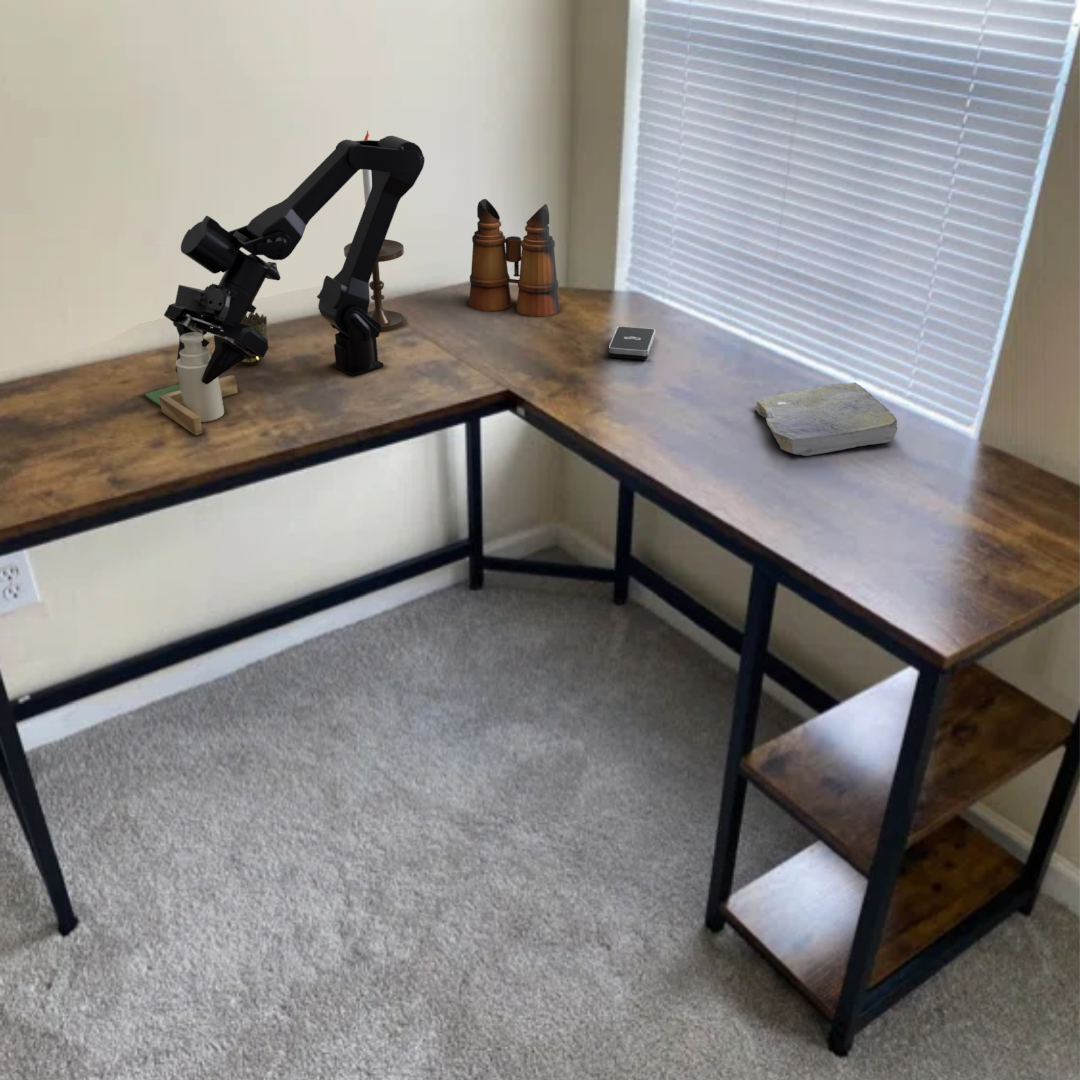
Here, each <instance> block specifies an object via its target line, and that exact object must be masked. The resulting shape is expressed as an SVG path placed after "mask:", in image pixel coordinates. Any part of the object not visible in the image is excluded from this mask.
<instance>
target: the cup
mask: <svg viewBox="0 0 1080 1080" xmlns="http://www.w3.org/2000/svg"><path fill="white" fill-rule="evenodd" d="M242 324H243V325H246V326H249V327H250V328H252V329H253V330H255V331H256V332H257V333H259V334H260V335H261V336H263V337H264V338H266V339H267V340H268V318H267V315H264V314H263V313H261V315H259V314H258V312H254V313H251V312H249V314H248V315H246V316H245V318H244V320H243V322H242ZM248 354H249V355H250V356H251V357H250V358H249V359H247V358H246V359H244V360H242V361H241V362H240V364H242V365H244V366H255V365H258V364H259V363H260V362H261V359H262V358H261V357H258V356H255V355H252V354H251V353H250V351H249V352H248Z"/></svg>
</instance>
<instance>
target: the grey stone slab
mask: <svg viewBox="0 0 1080 1080" xmlns="http://www.w3.org/2000/svg"><path fill="white" fill-rule="evenodd" d="M755 402H756V406H754V410H755V411H756V412H757V414H758V415H759V416H761V417H763V418H764V419H765V420H766V424H767V426H768V427H769V429H770V431H771V433H772V435H773V437H774V438H775V440H776V442H777V444H778V445H779V448H780V450H783V451H785V452H788V453H789V454H794V455H796V456H798V455H799V456H803V457H810V456H815V455H821V454H826V453H832V452H837V451H843V450H847V449H853V448H854V449H855V448H856V447H864V446H869V445H871V446H872V445H877V444H885V443H887V444H888V443H890V442H893V440H894V438H895V436H896V434H897V431H898V420H897V418H896V417H895V415H894V414H893V413H892V412H891V410H889V408H887V407H886V406H885V405H884V404H883V403H881V401H879V400H878V399H877V398H876V397H875V396H874V395H872V393H871V392H869V391H868V390H867V389H866V388H864V387H863V386H861V385H860V384H858V383H856V382H849V383H834V384H833V383H832V384H827V385H823V386H820V387H814V388H810V389H804V390H796V391H789V392H785V393H780V394H776V395H771V396H768V397H764V398H762V399H758V400H756V401H755Z"/></svg>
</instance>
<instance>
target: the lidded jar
mask: <svg viewBox="0 0 1080 1080" xmlns="http://www.w3.org/2000/svg"><path fill="white" fill-rule="evenodd" d="M203 339H205V337H204V336H203V334H202V333H198V332H190V333H186V334H183V335H181V336H180V340H181V342H182V343H184V347H185V348H184V349H182V350H181V351H180V352H179V354H180V359H178V360H177V359H176V361H175V369H176V368H177V372H176V373H177V379H178V384H180V390H181V395H182V401H183V406H184V407H186V408H187V409H189V410H190V411H192V412H193V413H195V414H196V415H198V416H199V417H200V421H201V423H206V422H211V421H216V420H218V419H219V418H222V417H223V416H224V414H225V406H224V400H223V397H222V394H221V387H220V381H219V378H220V376H218V377H217V378H216V379H214V380H213V381H211V382H210V383H209V384H205V383H203V382H202V377H203V374H204V372H205V369H206V367H207V365H208V363H209V361H210V359H211V356H212V354H210V349H209V348H208V347H207V346H206V347H204V346H202V342H201V341H202V340H203Z"/></svg>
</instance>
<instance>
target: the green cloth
mask: <svg viewBox="0 0 1080 1080" xmlns="http://www.w3.org/2000/svg"><path fill="white" fill-rule="evenodd" d="M179 390H180V384H179V383H178V384H174V385H171V386H168V387H164V388H161V389H157V390H154V391H150V392H147V393H144V397H146V398H147V399H148V400H149V401H151V402H153V403H154V404H156V405H157V406H159V407H160V408H161V404H160V399H159V396H162V395H165V394H168V393H172V392H175V391H179Z"/></svg>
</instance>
